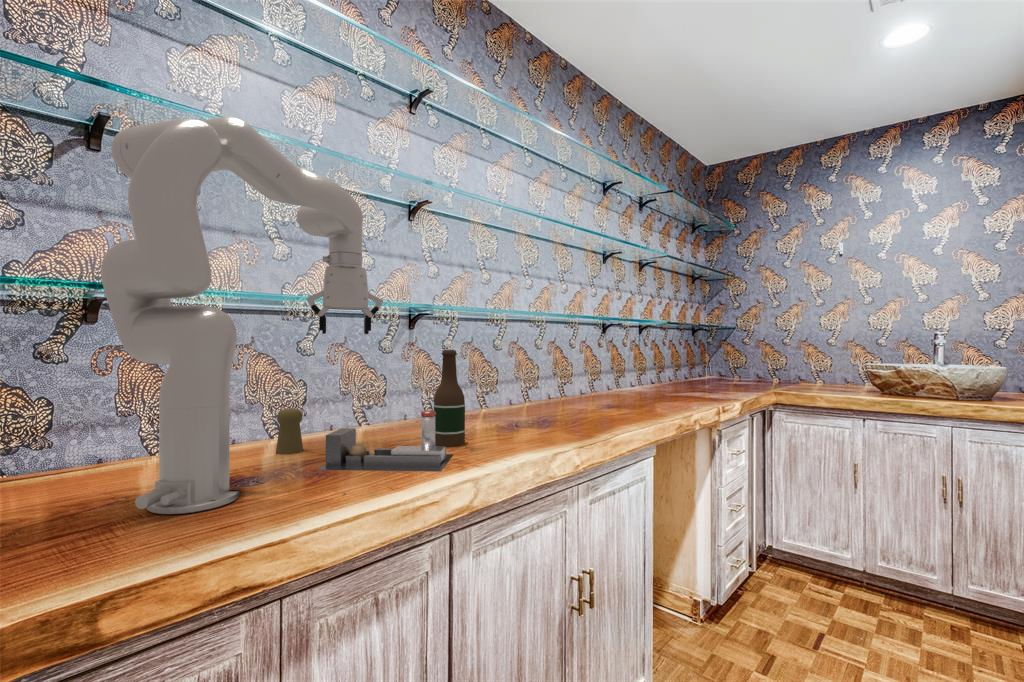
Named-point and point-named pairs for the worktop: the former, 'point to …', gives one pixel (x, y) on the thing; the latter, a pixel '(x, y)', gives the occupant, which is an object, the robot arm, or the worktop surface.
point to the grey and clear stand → (423, 440)
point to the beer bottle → (449, 405)
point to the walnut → (358, 450)
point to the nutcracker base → (373, 457)
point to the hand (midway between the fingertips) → (345, 333)
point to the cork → (289, 432)
